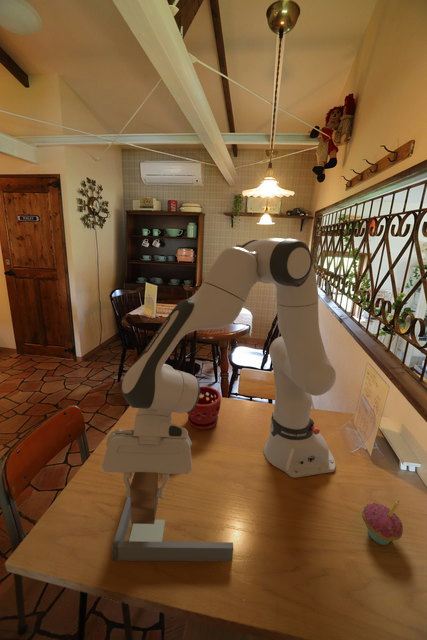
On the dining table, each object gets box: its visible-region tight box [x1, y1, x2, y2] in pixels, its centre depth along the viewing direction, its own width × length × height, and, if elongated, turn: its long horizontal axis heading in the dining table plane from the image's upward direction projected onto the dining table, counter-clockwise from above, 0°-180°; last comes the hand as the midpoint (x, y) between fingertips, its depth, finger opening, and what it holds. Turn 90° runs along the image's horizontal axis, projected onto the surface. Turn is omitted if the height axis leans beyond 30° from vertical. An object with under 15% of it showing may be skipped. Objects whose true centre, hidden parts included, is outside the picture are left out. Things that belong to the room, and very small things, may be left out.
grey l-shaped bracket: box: [111, 497, 234, 562], centre depth 70 cm, size 26×20×4 cm
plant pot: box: [186, 385, 222, 430], centre depth 106 cm, size 13×13×12 cm
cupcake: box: [361, 499, 404, 546], centre depth 67 cm, size 9×8×12 cm
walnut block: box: [130, 472, 159, 525], centre depth 63 cm, size 5×5×10 cm
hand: (144, 497), depth 62 cm, fingers closed on walnut block, 5 cm apart
